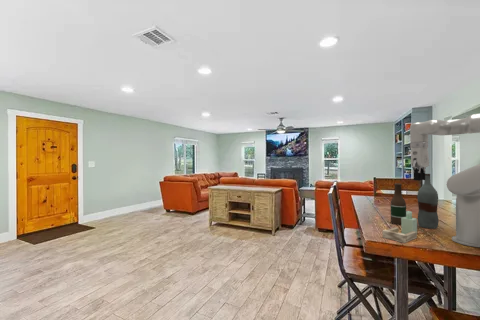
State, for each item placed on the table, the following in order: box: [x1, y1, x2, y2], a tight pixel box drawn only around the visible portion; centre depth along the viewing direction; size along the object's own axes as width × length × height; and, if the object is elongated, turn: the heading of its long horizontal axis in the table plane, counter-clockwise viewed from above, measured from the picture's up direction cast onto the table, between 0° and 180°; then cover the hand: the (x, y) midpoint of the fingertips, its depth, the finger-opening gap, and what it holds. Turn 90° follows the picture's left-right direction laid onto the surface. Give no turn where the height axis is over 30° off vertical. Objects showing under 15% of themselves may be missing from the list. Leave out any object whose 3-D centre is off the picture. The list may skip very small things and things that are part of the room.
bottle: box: [400, 210, 418, 234], centre depth 119 cm, size 5×5×12 cm
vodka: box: [416, 173, 440, 230], centre depth 131 cm, size 9×9×30 cm
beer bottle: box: [390, 182, 407, 226], centre depth 137 cm, size 8×8×24 cm
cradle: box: [382, 226, 418, 244], centre depth 113 cm, size 10×13×3 cm
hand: (419, 179), depth 123 cm, fingers open, 4 cm apart
